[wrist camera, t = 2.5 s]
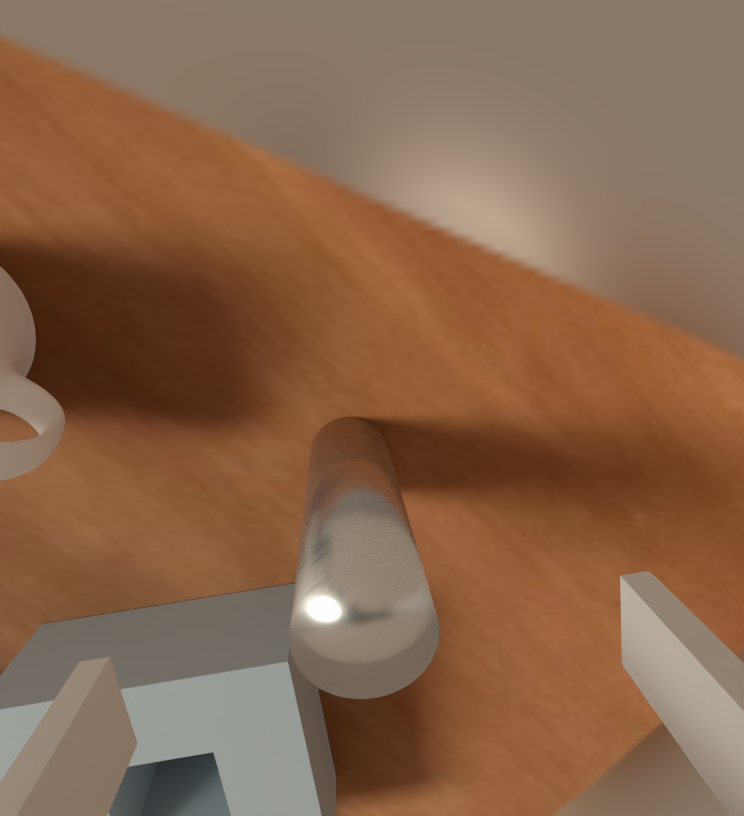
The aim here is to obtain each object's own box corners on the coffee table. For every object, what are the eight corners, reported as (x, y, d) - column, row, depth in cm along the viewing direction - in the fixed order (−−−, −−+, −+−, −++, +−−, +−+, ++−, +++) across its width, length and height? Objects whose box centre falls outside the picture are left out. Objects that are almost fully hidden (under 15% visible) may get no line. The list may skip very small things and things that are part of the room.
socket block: (41, 624, 29) (-32, 714, 23) (296, 582, 29) (287, 661, 24) (111, 815, 33) (63, 934, 27) (336, 776, 33) (336, 885, 27)
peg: (304, 423, 27) (276, 584, 14) (382, 411, 27) (431, 559, 14) (317, 495, 28) (303, 710, 15) (392, 483, 28) (446, 685, 15)
